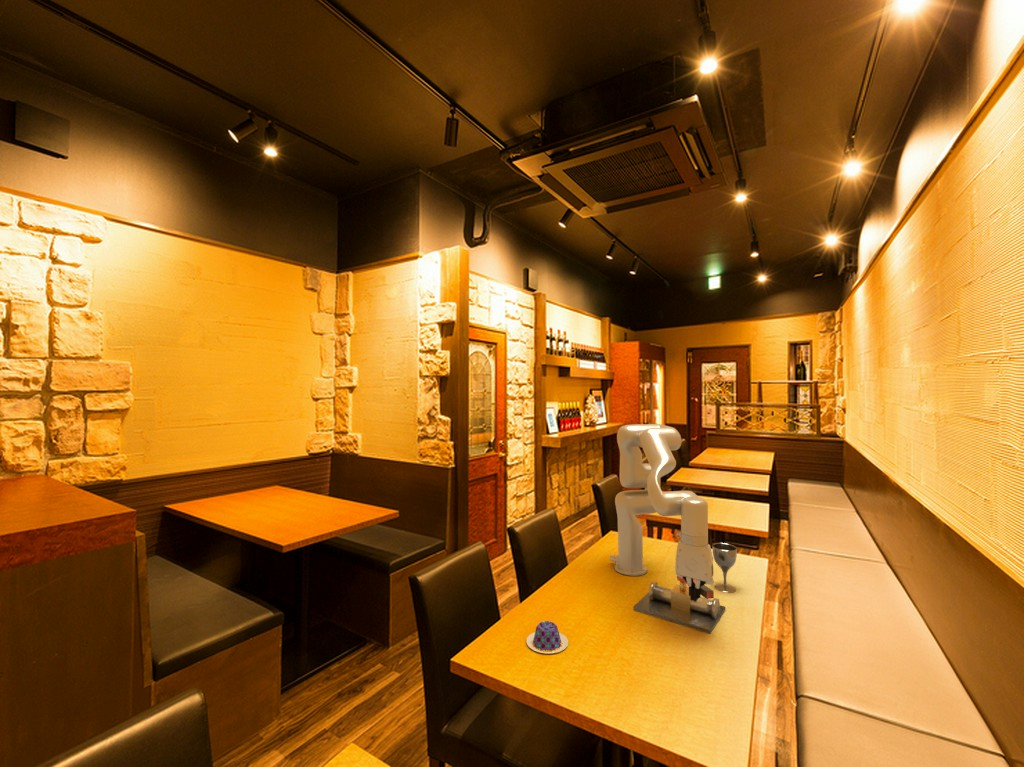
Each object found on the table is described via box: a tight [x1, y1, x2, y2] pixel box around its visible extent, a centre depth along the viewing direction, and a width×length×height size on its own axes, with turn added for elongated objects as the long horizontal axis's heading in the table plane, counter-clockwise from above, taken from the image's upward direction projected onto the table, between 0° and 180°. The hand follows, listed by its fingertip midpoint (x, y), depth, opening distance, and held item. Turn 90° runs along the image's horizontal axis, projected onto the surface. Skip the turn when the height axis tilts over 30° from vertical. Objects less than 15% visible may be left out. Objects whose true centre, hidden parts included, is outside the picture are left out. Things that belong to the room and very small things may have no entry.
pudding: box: [526, 620, 569, 654], centre depth 130 cm, size 12×12×5 cm
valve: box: [632, 581, 726, 634], centre depth 148 cm, size 24×18×10 cm
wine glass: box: [712, 542, 738, 593], centre depth 163 cm, size 8×8×15 cm
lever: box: [676, 575, 715, 600], centre depth 142 cm, size 16×4×2 cm, turn 12°
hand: (694, 599), depth 136 cm, fingers closed
